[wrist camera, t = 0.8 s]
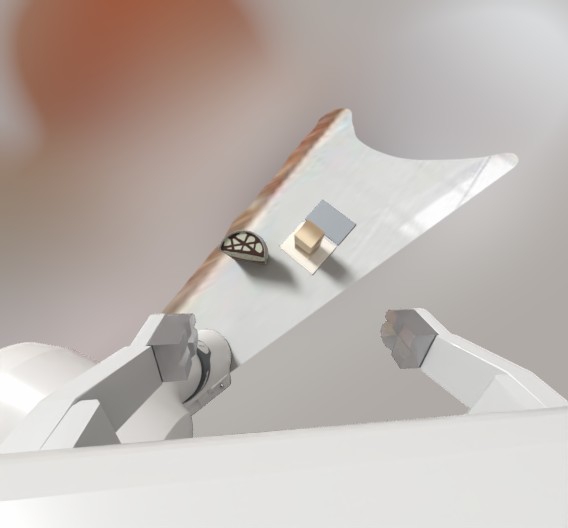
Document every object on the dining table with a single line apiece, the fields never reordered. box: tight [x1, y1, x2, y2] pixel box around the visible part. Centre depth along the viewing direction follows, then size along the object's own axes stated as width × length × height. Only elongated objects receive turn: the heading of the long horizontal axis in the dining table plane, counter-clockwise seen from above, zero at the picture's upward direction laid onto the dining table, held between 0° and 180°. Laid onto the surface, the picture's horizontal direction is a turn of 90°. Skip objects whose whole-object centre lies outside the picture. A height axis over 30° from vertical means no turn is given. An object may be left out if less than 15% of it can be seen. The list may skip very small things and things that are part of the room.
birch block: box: [294, 219, 325, 260], centre depth 56 cm, size 5×5×11 cm
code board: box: [280, 200, 356, 275], centre depth 62 cm, size 19×12×1 cm, turn 138°
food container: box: [219, 230, 268, 265], centre depth 57 cm, size 12×6×10 cm, turn 79°
